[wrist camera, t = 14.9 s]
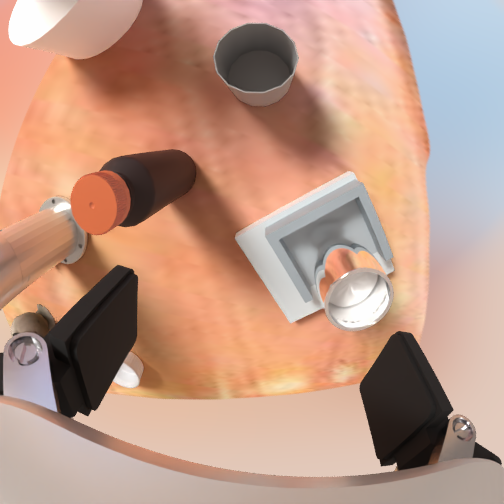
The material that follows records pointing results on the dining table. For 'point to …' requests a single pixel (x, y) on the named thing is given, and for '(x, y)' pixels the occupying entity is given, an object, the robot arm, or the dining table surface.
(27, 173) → the dining table surface
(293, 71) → the cup
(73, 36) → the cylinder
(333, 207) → the dock
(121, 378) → the ramekin
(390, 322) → the dining table surface
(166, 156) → the bottle
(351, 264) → the beer glass
